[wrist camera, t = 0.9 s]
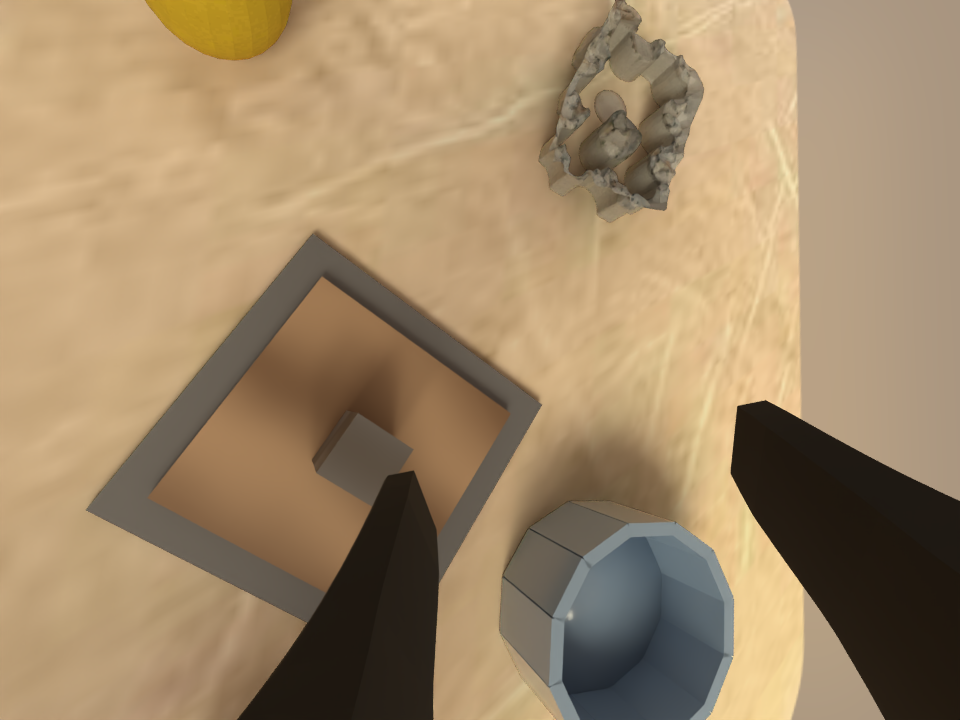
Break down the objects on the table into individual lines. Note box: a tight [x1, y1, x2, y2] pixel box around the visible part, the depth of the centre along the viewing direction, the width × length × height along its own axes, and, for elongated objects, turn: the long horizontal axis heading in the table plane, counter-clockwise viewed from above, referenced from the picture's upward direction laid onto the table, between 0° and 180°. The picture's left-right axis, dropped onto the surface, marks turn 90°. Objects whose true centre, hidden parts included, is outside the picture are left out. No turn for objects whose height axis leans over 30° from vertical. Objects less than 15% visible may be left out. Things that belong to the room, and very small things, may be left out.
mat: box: [86, 234, 542, 623], centre depth 22 cm, size 14×14×1 cm
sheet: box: [147, 277, 511, 593], centre depth 20 cm, size 11×11×5 cm
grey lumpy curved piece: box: [539, 0, 704, 223], centre depth 27 cm, size 11×8×4 cm
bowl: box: [499, 501, 734, 720], centre depth 24 cm, size 10×10×5 cm
